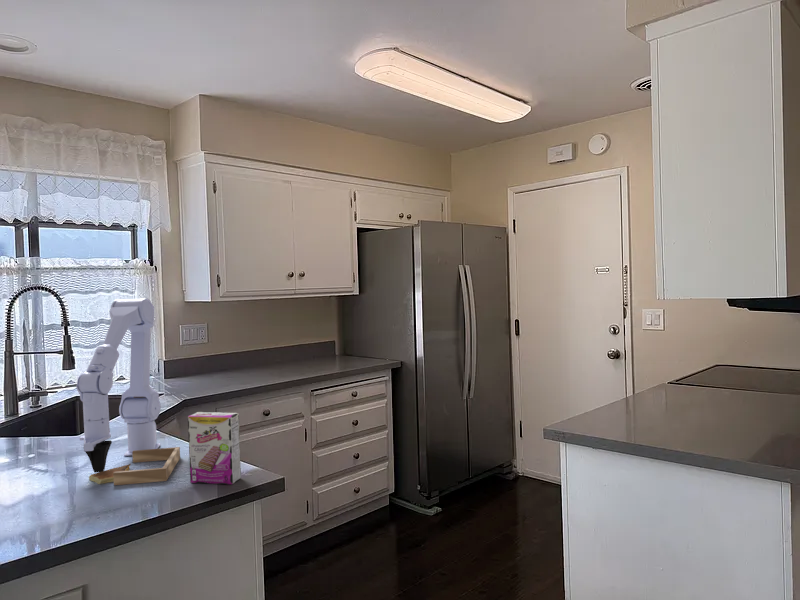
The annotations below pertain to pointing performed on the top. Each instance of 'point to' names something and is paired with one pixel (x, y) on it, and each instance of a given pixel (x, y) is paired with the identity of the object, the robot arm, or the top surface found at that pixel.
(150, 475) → the frame
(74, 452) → the top surface
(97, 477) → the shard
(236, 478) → the candy bar box
